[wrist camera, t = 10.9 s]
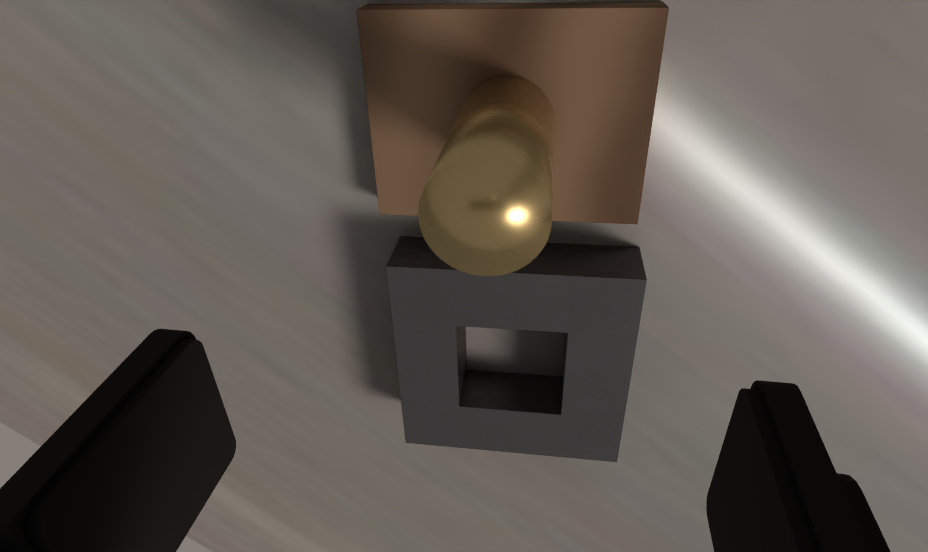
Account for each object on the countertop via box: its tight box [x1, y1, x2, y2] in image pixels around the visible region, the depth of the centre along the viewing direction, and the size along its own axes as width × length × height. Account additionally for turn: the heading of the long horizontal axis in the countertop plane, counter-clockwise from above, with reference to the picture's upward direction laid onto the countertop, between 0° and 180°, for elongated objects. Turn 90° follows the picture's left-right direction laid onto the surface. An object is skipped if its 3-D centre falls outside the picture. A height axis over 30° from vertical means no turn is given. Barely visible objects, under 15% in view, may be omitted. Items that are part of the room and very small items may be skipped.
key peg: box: [418, 75, 554, 276], centre depth 21 cm, size 4×4×9 cm
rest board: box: [357, 2, 669, 224], centre depth 26 cm, size 12×9×2 cm
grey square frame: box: [386, 236, 647, 462], centre depth 32 cm, size 12×12×3 cm
